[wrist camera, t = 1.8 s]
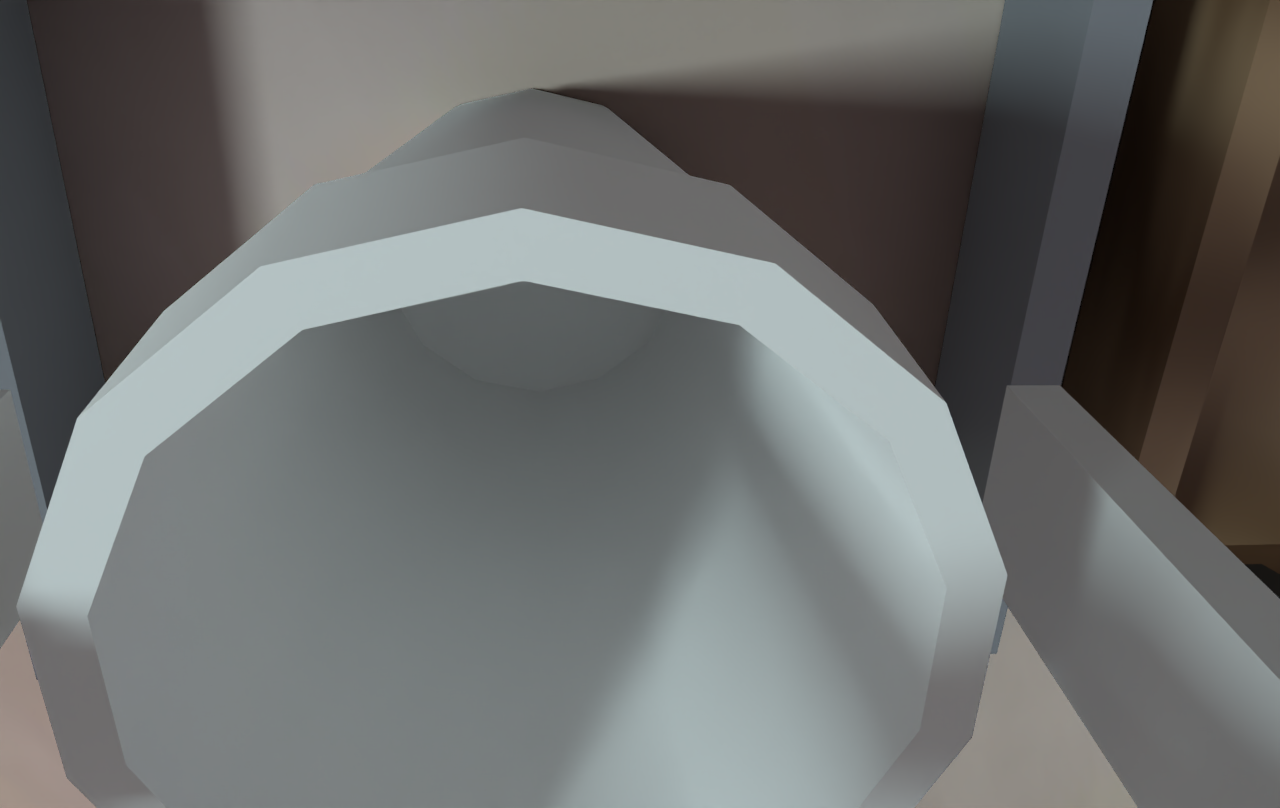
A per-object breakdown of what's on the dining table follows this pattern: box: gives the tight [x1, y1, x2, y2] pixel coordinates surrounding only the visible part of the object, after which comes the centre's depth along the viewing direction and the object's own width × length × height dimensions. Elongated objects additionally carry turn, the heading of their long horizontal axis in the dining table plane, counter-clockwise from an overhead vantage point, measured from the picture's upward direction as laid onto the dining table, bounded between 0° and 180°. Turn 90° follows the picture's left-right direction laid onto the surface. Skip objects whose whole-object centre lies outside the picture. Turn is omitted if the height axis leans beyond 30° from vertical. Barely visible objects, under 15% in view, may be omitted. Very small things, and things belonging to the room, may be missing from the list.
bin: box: [0, 0, 1153, 680], centre depth 21 cm, size 16×20×4 cm
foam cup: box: [16, 88, 1007, 808], centre depth 16 cm, size 10×9×13 cm
